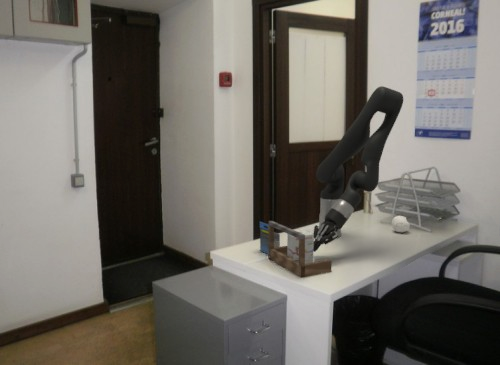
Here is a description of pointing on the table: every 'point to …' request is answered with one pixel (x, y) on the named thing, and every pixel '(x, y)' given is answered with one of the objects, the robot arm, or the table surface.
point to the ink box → (294, 247)
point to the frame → (299, 267)
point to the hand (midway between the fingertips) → (312, 250)
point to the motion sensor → (400, 224)
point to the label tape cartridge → (267, 238)
